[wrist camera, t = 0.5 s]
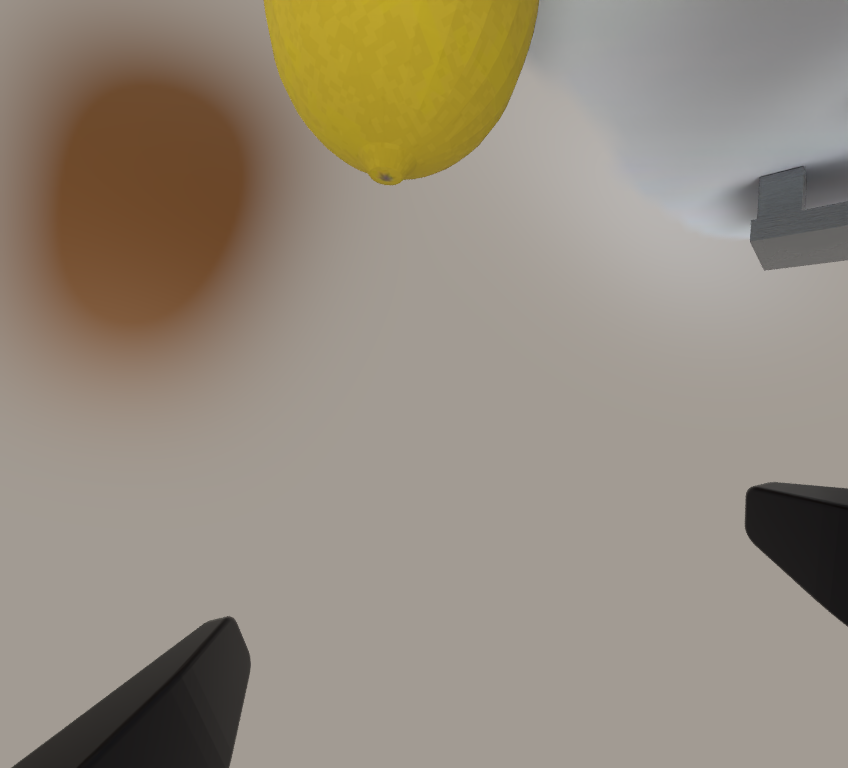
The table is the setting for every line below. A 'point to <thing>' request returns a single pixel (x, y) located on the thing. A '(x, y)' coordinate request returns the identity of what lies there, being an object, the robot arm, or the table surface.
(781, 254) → the block
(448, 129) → the lemon
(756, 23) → the table surface
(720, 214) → the table surface
